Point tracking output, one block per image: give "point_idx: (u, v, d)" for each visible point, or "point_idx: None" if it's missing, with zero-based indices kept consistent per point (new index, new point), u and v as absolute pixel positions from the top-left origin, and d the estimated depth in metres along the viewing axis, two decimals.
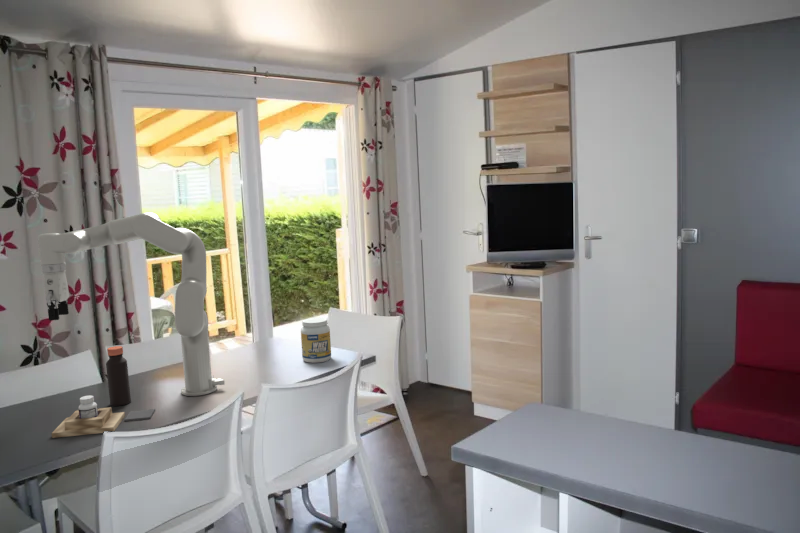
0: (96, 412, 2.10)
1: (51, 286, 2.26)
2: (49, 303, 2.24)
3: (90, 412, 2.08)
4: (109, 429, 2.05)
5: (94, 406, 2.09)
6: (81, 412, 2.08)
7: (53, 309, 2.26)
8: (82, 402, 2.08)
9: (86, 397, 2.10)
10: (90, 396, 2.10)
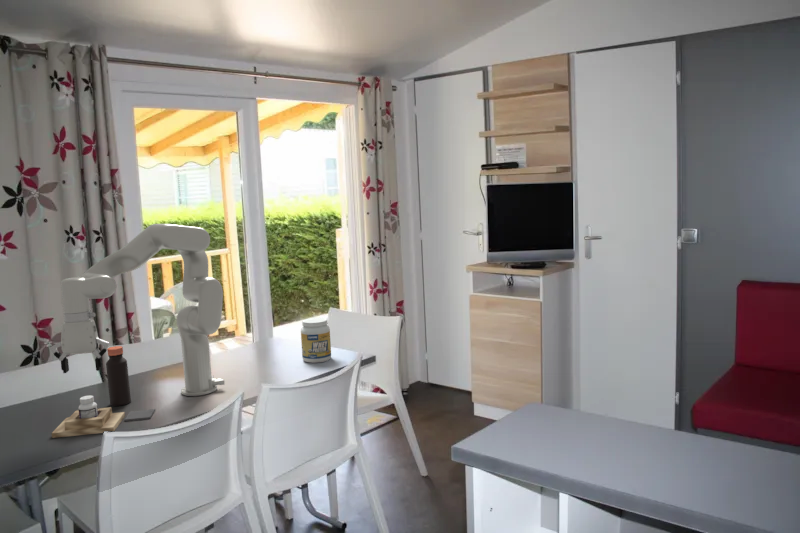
0: (96, 412, 2.10)
1: (96, 333, 2.08)
2: None
3: (90, 412, 2.08)
4: (109, 429, 2.05)
5: (94, 406, 2.09)
6: (81, 412, 2.08)
7: (101, 357, 2.09)
8: (82, 402, 2.08)
9: (86, 397, 2.10)
10: (90, 396, 2.10)
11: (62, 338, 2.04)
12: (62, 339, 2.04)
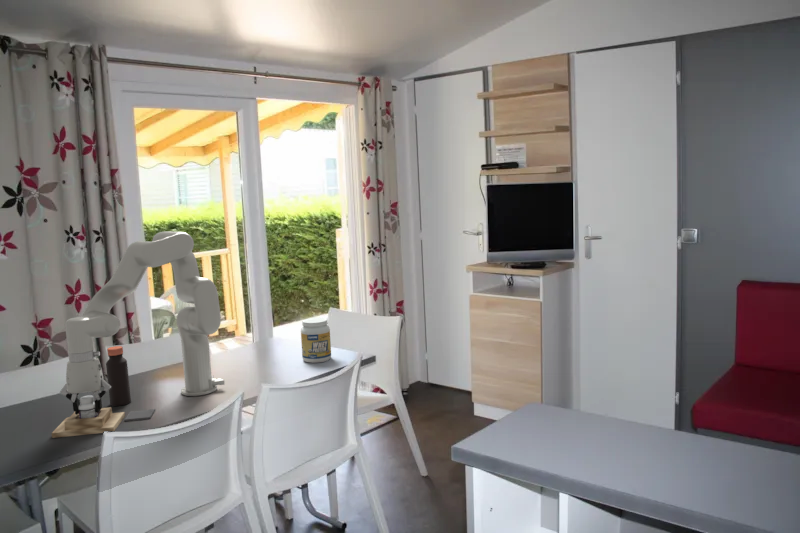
0: None
1: (101, 371, 2.10)
2: None
3: (90, 411, 2.08)
4: (109, 429, 2.05)
5: (94, 406, 2.09)
6: (81, 412, 2.08)
7: None
8: (82, 402, 2.08)
9: (86, 397, 2.10)
10: (90, 396, 2.10)
11: (67, 378, 2.06)
12: (67, 379, 2.06)
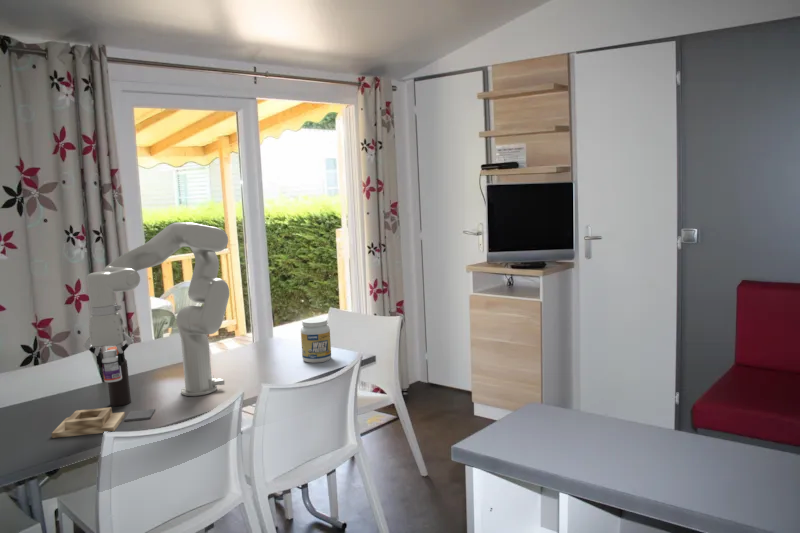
0: (119, 365, 2.13)
1: (123, 325, 2.12)
2: None
3: (113, 364, 2.11)
4: (109, 429, 2.05)
5: (117, 359, 2.12)
6: (104, 365, 2.11)
7: None
8: (105, 355, 2.11)
9: (110, 350, 2.12)
10: (113, 350, 2.13)
11: (90, 331, 2.09)
12: (90, 332, 2.09)
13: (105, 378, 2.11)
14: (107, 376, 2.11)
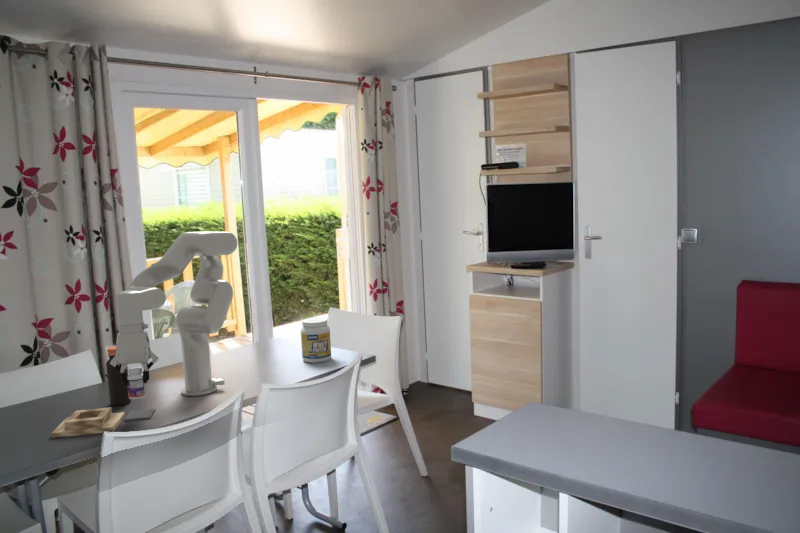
0: (144, 383, 2.17)
1: (149, 343, 2.17)
2: None
3: (138, 382, 2.15)
4: (109, 429, 2.05)
5: (142, 377, 2.16)
6: (130, 382, 2.15)
7: None
8: (131, 372, 2.15)
9: (135, 368, 2.17)
10: (138, 367, 2.18)
11: (117, 349, 2.13)
12: (117, 350, 2.13)
13: (130, 395, 2.15)
14: (132, 393, 2.15)
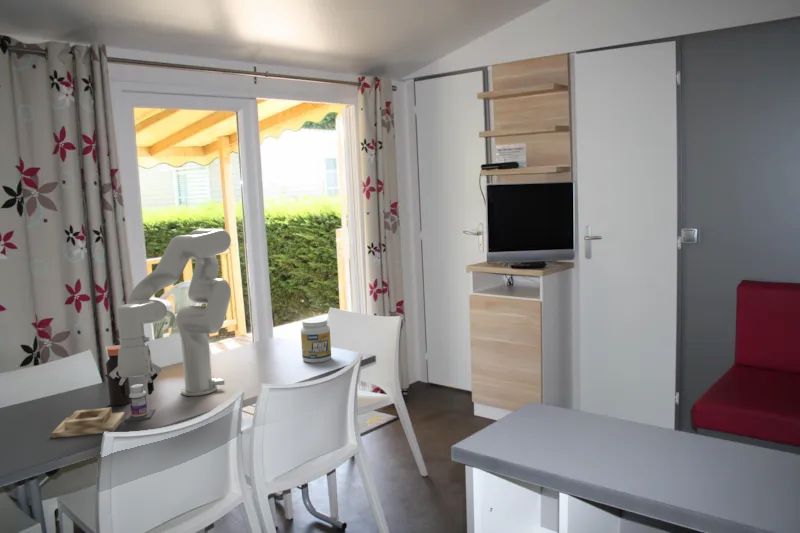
0: (146, 400, 2.18)
1: (150, 356, 2.18)
2: None
3: (140, 399, 2.16)
4: (109, 429, 2.05)
5: (144, 394, 2.17)
6: (132, 400, 2.15)
7: (152, 381, 2.19)
8: (133, 390, 2.16)
9: (137, 385, 2.17)
10: (140, 385, 2.18)
11: (119, 362, 2.14)
12: (119, 363, 2.14)
13: (132, 412, 2.16)
14: (134, 410, 2.16)
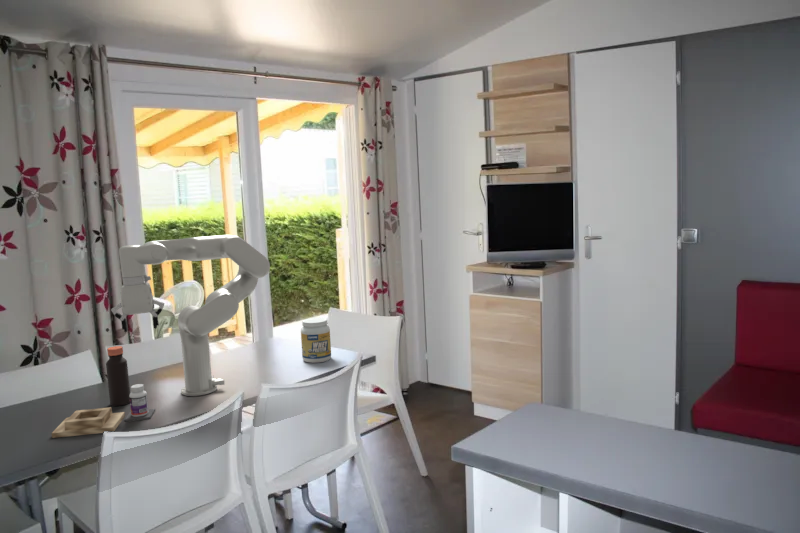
0: (146, 400, 2.18)
1: None
2: None
3: (141, 399, 2.16)
4: (109, 429, 2.05)
5: (144, 394, 2.17)
6: (132, 400, 2.15)
7: (157, 316, 2.32)
8: (133, 390, 2.16)
9: (137, 385, 2.17)
10: (140, 385, 2.18)
11: (122, 300, 2.26)
12: (122, 301, 2.26)
13: (132, 412, 2.16)
14: (134, 410, 2.16)
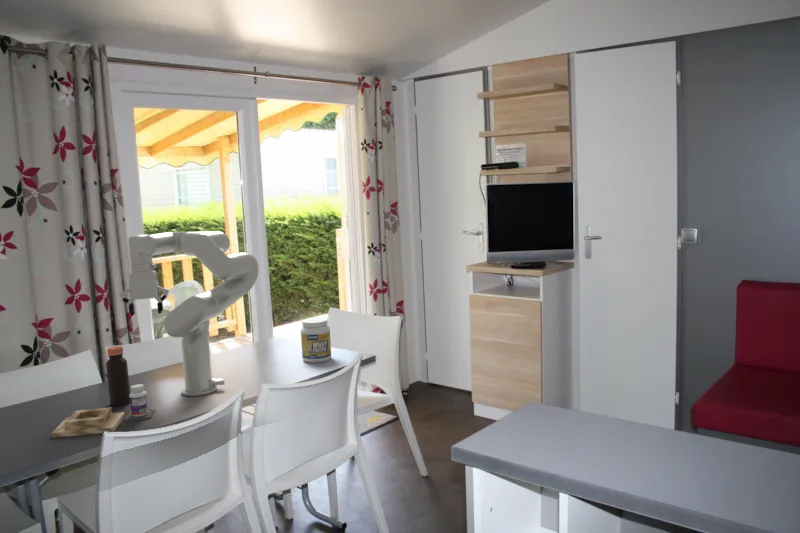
0: (146, 400, 2.18)
1: (157, 281, 2.46)
2: (166, 295, 2.47)
3: (141, 399, 2.16)
4: (109, 429, 2.05)
5: (144, 394, 2.17)
6: (132, 400, 2.15)
7: None
8: (133, 390, 2.16)
9: (137, 385, 2.17)
10: (140, 385, 2.18)
11: (130, 285, 2.42)
12: (130, 286, 2.42)
13: (132, 412, 2.16)
14: (134, 410, 2.16)
